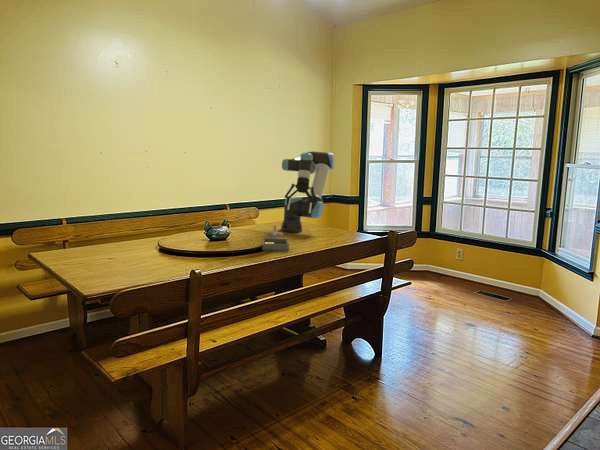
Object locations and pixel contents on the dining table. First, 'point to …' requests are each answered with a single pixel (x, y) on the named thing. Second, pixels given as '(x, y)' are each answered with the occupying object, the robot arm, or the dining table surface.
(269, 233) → the pipe connector
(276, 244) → the tray
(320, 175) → the robot arm
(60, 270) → the dining table surface
